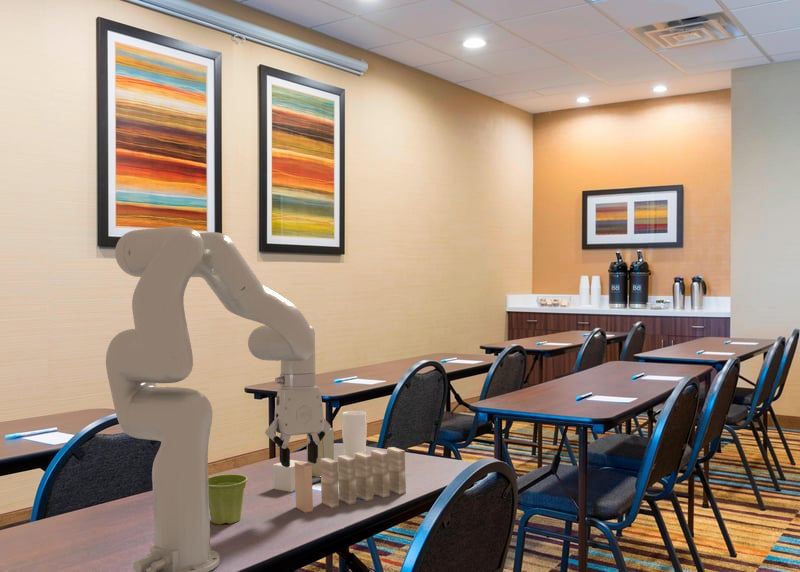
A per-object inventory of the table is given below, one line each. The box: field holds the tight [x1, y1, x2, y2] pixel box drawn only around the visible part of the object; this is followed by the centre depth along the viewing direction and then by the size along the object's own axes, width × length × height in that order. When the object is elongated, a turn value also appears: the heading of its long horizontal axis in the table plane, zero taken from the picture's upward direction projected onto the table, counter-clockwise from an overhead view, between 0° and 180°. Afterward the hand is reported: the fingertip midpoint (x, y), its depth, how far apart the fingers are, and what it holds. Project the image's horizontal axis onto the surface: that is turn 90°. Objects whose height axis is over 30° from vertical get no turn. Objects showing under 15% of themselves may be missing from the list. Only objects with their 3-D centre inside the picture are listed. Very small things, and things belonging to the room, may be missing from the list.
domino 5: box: [370, 449, 391, 499], centre depth 177 cm, size 2×5×10 cm, turn 32°
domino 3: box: [337, 454, 357, 505], centre depth 172 cm, size 2×5×10 cm, turn 32°
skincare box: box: [306, 427, 335, 478], centre depth 197 cm, size 6×4×12 cm
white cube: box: [272, 459, 308, 493], centre depth 186 cm, size 6×6×6 cm
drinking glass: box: [340, 410, 368, 458], centre depth 203 cm, size 7×7×15 cm
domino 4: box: [355, 452, 374, 502], centre depth 175 cm, size 2×5×10 cm, turn 32°
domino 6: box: [386, 446, 407, 495], centre depth 179 cm, size 2×5×10 cm, turn 32°
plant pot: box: [208, 473, 249, 525], centre depth 161 cm, size 9×9×9 cm
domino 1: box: [294, 460, 314, 513], centre depth 167 cm, size 2×5×10 cm, turn 32°
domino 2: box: [320, 458, 340, 509], centre depth 170 cm, size 2×5×10 cm, turn 32°
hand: (299, 463), depth 166 cm, fingers open, 5 cm apart
